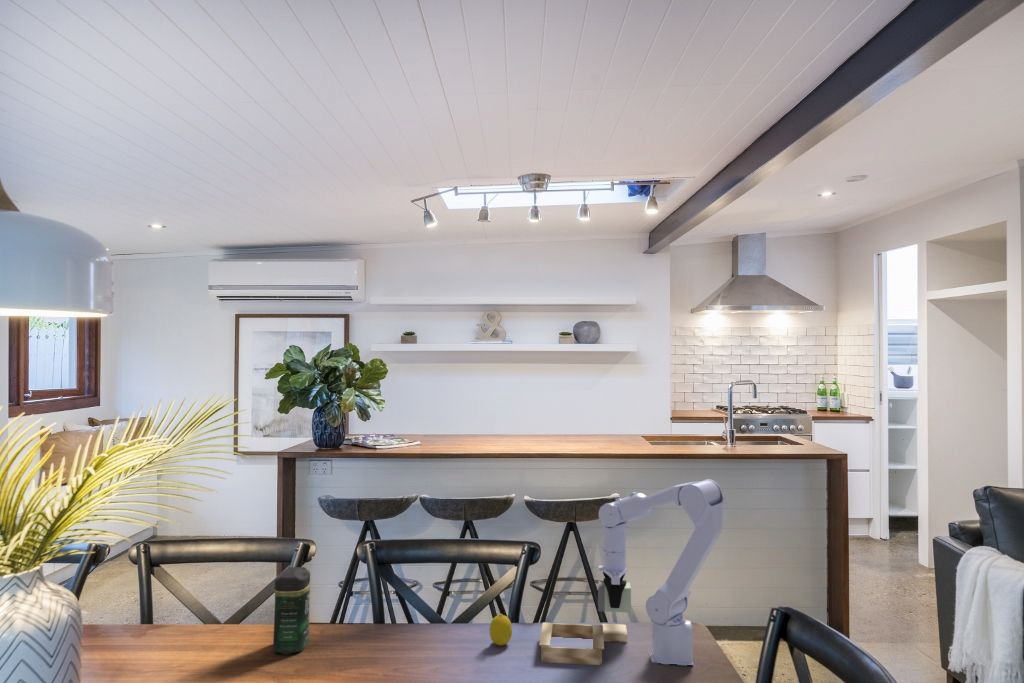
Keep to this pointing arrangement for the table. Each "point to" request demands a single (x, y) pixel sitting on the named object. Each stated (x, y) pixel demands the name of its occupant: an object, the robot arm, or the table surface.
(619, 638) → the oak stand
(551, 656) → the wooden tray
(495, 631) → the lemon
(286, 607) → the coffee jar
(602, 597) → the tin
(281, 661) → the table surface
